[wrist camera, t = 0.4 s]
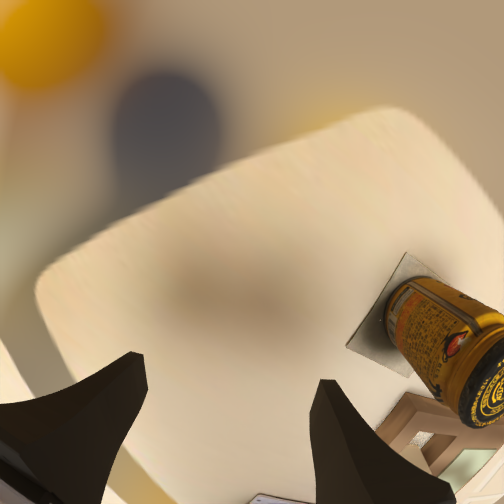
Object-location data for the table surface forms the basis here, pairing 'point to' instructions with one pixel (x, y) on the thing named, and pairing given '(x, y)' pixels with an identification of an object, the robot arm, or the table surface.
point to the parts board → (442, 438)
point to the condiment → (438, 342)
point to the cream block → (415, 457)
